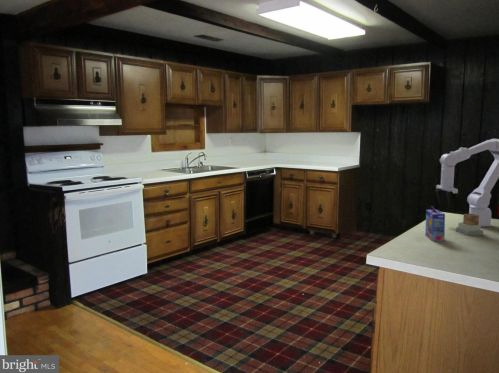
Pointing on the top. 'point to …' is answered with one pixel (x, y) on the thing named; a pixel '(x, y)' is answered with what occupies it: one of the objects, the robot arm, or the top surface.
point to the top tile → (469, 227)
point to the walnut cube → (471, 219)
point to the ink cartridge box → (435, 225)
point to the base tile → (469, 232)
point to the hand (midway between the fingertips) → (445, 205)
